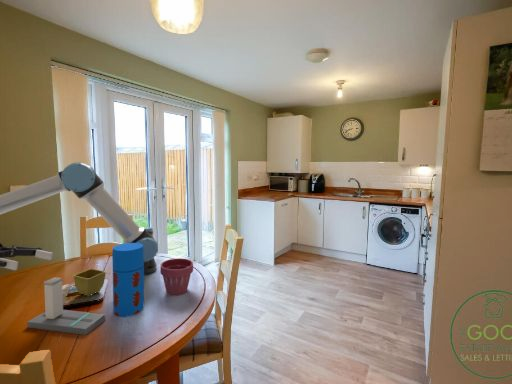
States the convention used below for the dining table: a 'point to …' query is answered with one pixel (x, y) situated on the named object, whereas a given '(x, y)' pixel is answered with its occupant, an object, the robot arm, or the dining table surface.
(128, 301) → the thermos
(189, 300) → the dining table surface
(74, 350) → the dining table surface
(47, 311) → the fader tab
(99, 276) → the flower pot
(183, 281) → the plant pot
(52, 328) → the console
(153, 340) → the dining table surface
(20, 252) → the robot arm
